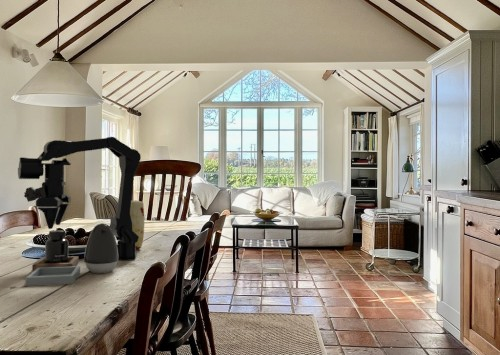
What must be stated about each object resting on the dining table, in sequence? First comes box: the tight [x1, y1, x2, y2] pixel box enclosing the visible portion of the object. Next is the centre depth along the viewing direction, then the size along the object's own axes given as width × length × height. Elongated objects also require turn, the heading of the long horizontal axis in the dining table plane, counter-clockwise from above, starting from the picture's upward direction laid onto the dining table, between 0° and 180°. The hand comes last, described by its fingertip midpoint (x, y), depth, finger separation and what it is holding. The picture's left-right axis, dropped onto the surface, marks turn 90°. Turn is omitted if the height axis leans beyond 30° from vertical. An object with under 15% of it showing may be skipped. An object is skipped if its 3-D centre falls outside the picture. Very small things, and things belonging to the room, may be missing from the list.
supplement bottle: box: [44, 229, 70, 264], centre depth 133 cm, size 7×7×12 cm
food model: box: [130, 199, 145, 251], centre depth 166 cm, size 10×7×20 cm
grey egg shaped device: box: [83, 222, 120, 275], centre depth 129 cm, size 10×10×15 cm
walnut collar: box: [31, 255, 80, 273], centre depth 133 cm, size 11×11×2 cm
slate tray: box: [25, 265, 81, 287], centre depth 119 cm, size 12×12×2 cm
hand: (54, 226), depth 134 cm, fingers open, 9 cm apart
